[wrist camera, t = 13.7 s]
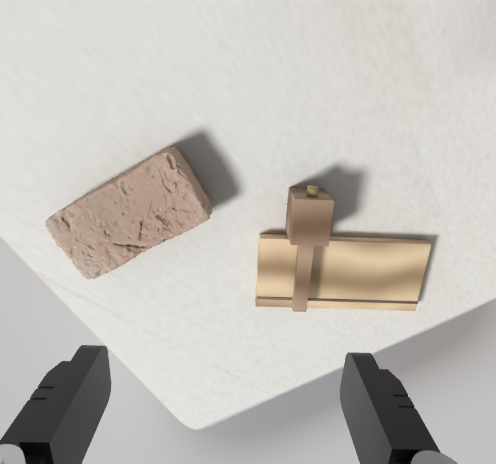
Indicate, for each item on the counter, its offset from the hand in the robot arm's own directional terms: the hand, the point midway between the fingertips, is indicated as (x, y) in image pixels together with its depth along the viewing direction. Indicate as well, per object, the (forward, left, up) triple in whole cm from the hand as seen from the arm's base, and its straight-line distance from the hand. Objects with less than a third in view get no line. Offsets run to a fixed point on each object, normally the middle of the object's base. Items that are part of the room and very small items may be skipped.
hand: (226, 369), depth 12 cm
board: (+11, +13, -30) cm, 35 cm away
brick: (+4, -11, -31) cm, 33 cm away
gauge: (+7, +8, -30) cm, 32 cm away
